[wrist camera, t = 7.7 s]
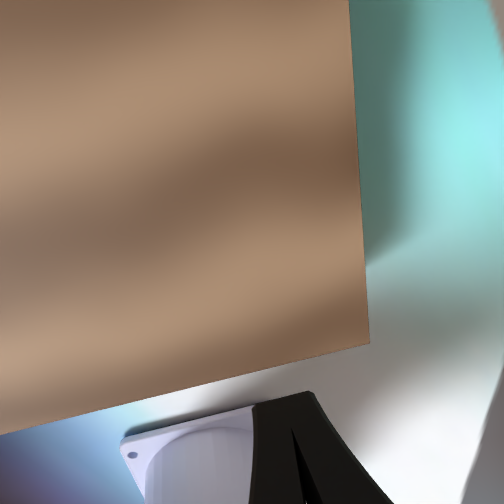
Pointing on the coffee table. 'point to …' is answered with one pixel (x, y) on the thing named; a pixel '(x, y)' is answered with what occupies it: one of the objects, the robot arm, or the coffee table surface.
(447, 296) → the coffee table surface
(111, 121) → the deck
